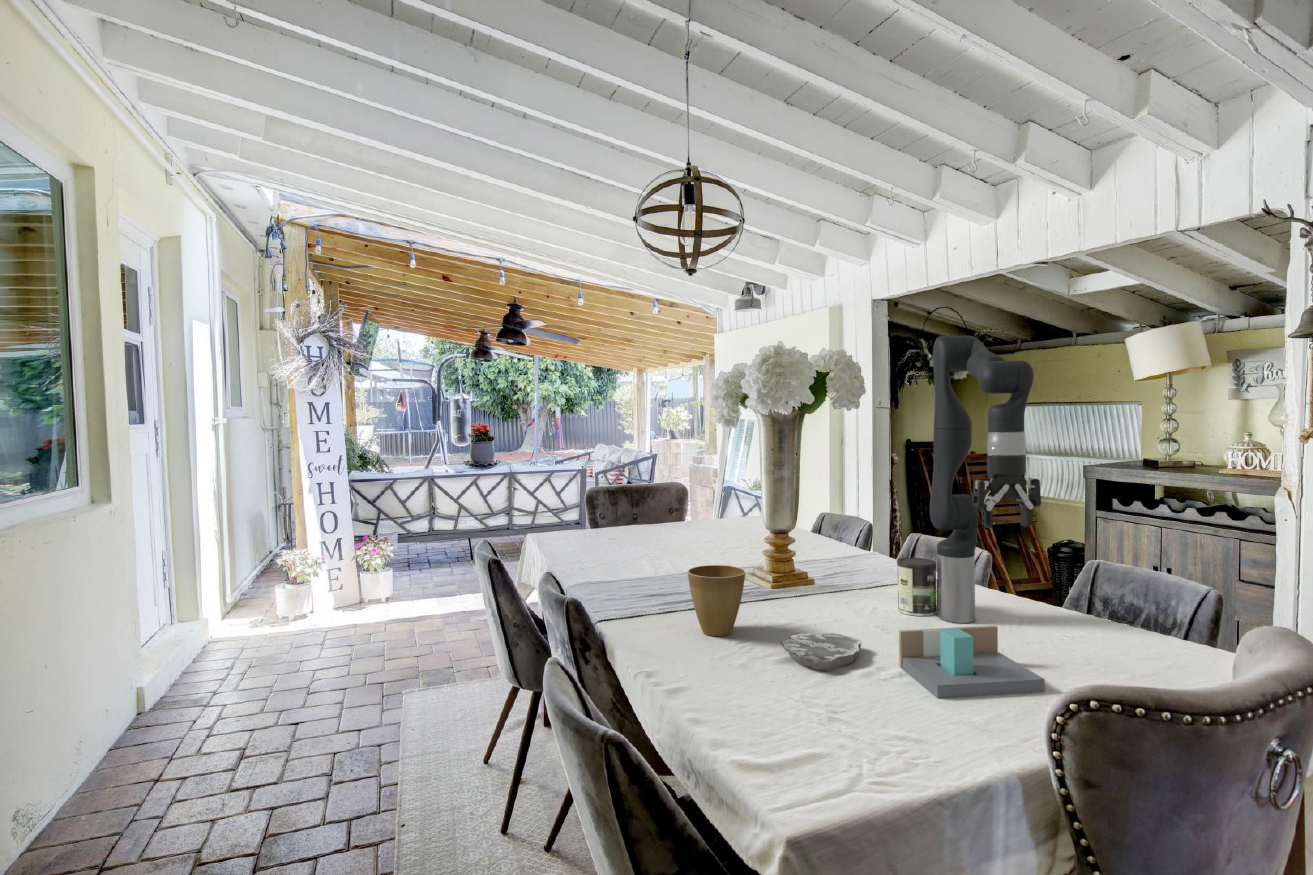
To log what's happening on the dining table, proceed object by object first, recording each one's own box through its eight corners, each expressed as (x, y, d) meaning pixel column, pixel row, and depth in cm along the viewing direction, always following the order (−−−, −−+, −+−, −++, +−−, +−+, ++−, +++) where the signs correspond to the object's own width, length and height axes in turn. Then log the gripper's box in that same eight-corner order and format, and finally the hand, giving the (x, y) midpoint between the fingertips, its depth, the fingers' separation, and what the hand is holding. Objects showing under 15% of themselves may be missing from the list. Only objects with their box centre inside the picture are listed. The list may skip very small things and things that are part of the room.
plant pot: (744, 642, 163) (743, 578, 163) (684, 640, 166) (683, 576, 166) (748, 624, 178) (747, 564, 177) (693, 621, 181) (692, 563, 180)
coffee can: (941, 609, 187) (940, 559, 186) (931, 618, 179) (930, 566, 178) (903, 603, 193) (903, 555, 193) (892, 612, 185) (891, 562, 184)
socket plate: (899, 666, 146) (898, 630, 145) (995, 661, 147) (994, 625, 147) (937, 698, 129) (937, 657, 129) (1044, 691, 131) (1044, 651, 131)
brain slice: (805, 639, 166) (805, 627, 166) (872, 653, 155) (872, 640, 155) (765, 662, 151) (765, 649, 151) (836, 680, 140) (836, 666, 140)
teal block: (940, 676, 140) (940, 629, 140) (959, 675, 140) (958, 628, 140) (954, 686, 134) (954, 637, 134) (973, 685, 135) (973, 636, 134)
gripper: (1026, 451, 149) (1026, 523, 150) (965, 452, 148) (966, 525, 148) (1048, 452, 142) (1049, 528, 142) (984, 454, 140) (985, 531, 141)
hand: (1006, 526), depth 145 cm, fingers open, 8 cm apart
